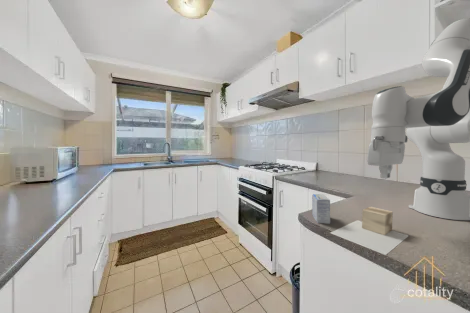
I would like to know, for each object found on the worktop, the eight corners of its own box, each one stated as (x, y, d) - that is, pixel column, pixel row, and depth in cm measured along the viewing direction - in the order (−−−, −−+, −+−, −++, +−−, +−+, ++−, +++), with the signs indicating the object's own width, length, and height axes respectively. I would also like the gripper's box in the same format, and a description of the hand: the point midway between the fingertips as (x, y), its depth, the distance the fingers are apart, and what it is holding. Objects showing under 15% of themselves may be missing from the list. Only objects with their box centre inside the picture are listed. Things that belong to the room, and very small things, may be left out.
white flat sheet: (357, 220, 66) (357, 220, 66) (409, 236, 54) (409, 235, 54) (329, 233, 56) (329, 232, 56) (385, 255, 44) (385, 255, 44)
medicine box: (330, 224, 63) (330, 199, 62) (316, 223, 64) (317, 199, 63) (324, 216, 71) (324, 194, 70) (311, 215, 71) (312, 193, 71)
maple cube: (370, 223, 62) (370, 206, 62) (392, 230, 57) (392, 211, 57) (362, 228, 59) (362, 209, 59) (384, 235, 54) (385, 215, 54)
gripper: (387, 134, 52) (384, 182, 53) (409, 137, 63) (407, 177, 64) (362, 136, 57) (360, 179, 58) (386, 138, 69) (385, 174, 69)
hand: (385, 178), depth 61 cm, fingers closed
